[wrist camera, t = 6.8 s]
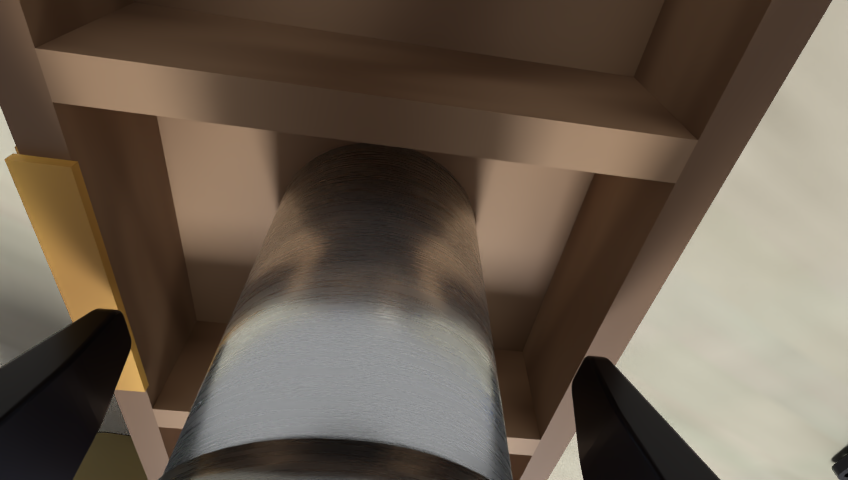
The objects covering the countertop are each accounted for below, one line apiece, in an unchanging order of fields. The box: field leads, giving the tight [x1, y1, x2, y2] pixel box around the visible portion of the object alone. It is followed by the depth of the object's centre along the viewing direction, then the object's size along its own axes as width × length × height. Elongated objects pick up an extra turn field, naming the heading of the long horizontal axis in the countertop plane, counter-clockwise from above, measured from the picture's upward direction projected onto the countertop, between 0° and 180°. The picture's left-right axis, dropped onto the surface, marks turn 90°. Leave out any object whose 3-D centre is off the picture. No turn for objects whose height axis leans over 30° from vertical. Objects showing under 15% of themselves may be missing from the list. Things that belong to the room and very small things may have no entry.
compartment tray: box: [0, 0, 832, 480], centre depth 12 cm, size 12×27×4 cm, turn 172°
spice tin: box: [158, 143, 513, 480], centre depth 9 cm, size 5×5×8 cm
